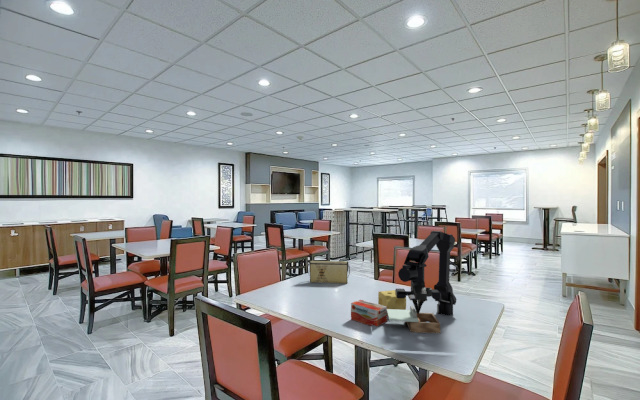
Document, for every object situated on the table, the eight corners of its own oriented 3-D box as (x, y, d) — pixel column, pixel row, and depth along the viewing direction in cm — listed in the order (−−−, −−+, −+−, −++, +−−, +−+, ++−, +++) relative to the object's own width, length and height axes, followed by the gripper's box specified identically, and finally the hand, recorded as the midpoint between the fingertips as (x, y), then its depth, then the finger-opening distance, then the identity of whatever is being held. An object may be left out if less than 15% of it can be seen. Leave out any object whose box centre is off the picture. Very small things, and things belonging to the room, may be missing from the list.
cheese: (387, 317, 146) (387, 297, 146) (377, 310, 156) (377, 290, 156) (406, 315, 149) (406, 295, 149) (395, 308, 159) (395, 289, 159)
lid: (413, 311, 140) (413, 304, 140) (418, 322, 128) (418, 314, 128) (386, 310, 141) (386, 303, 141) (389, 320, 129) (389, 313, 129)
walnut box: (432, 323, 139) (432, 313, 139) (440, 335, 127) (440, 323, 127) (405, 322, 140) (405, 312, 140) (410, 333, 128) (410, 322, 128)
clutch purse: (350, 281, 213) (350, 259, 213) (350, 284, 206) (350, 261, 206) (308, 280, 216) (307, 259, 216) (306, 282, 209) (306, 261, 209)
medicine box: (387, 323, 140) (387, 305, 140) (378, 328, 134) (378, 310, 134) (359, 315, 150) (359, 298, 150) (350, 319, 144) (350, 303, 144)
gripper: (398, 282, 127) (398, 319, 127) (445, 283, 125) (445, 321, 125) (394, 275, 138) (395, 310, 138) (437, 276, 136) (437, 311, 136)
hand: (417, 313), depth 134 cm, fingers closed
